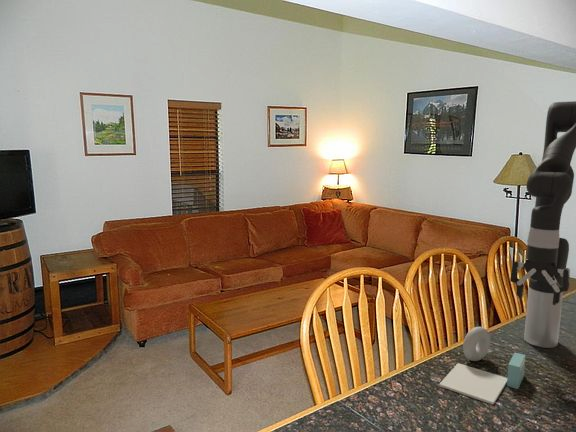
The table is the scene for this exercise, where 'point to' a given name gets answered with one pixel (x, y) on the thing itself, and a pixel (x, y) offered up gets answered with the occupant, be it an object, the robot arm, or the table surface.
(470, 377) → the mat
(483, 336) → the donut
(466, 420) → the table surface
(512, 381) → the box
